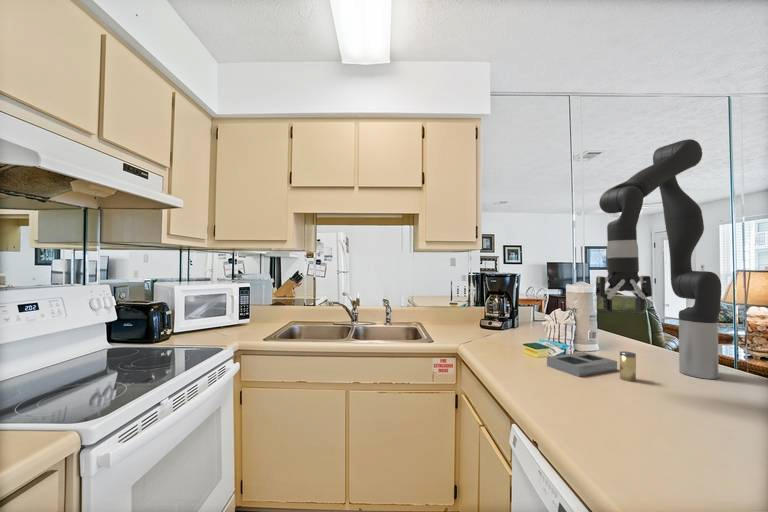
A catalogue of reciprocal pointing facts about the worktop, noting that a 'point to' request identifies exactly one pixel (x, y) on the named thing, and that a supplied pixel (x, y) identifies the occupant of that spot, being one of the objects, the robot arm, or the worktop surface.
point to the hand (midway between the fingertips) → (623, 311)
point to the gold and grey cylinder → (628, 366)
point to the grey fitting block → (582, 364)
